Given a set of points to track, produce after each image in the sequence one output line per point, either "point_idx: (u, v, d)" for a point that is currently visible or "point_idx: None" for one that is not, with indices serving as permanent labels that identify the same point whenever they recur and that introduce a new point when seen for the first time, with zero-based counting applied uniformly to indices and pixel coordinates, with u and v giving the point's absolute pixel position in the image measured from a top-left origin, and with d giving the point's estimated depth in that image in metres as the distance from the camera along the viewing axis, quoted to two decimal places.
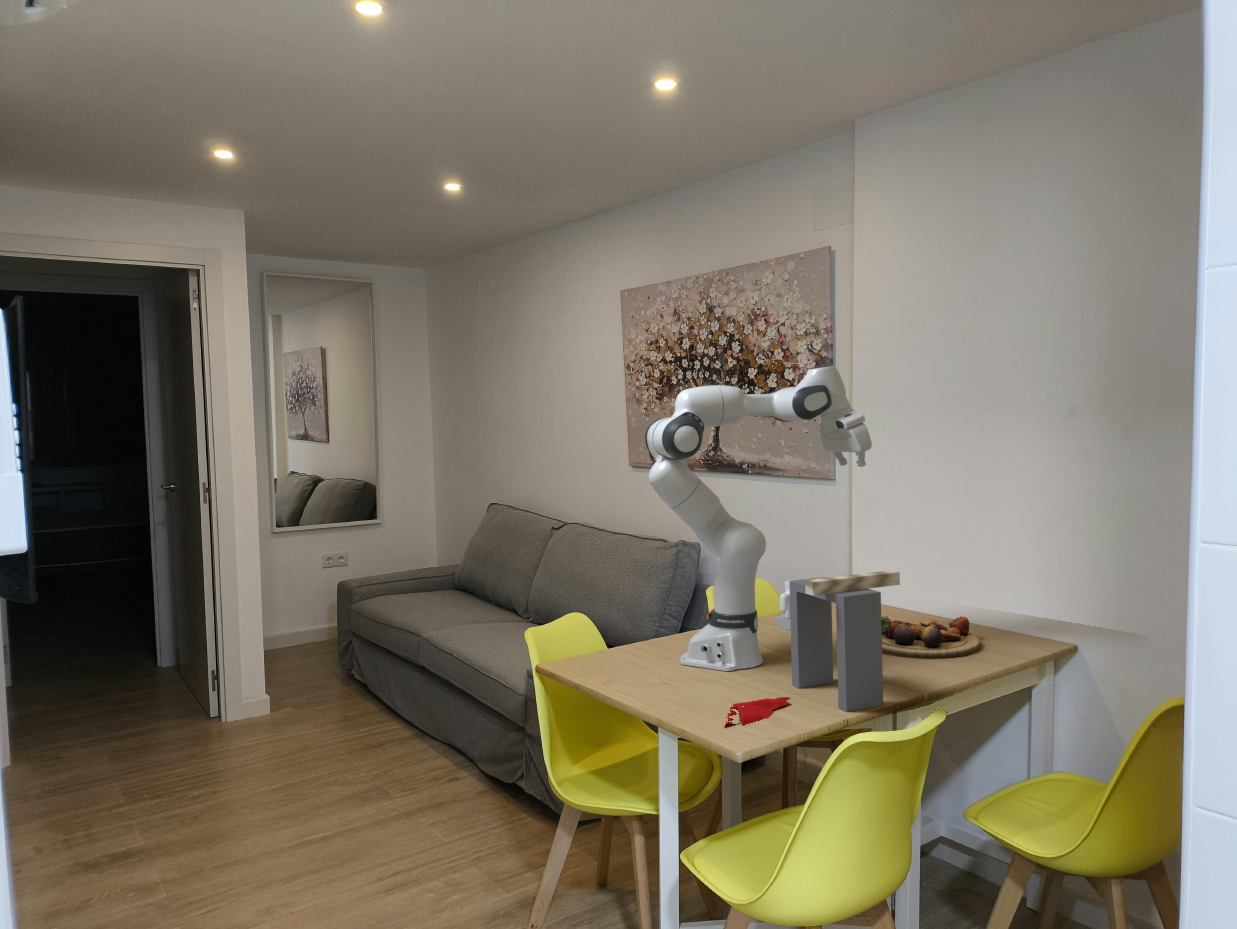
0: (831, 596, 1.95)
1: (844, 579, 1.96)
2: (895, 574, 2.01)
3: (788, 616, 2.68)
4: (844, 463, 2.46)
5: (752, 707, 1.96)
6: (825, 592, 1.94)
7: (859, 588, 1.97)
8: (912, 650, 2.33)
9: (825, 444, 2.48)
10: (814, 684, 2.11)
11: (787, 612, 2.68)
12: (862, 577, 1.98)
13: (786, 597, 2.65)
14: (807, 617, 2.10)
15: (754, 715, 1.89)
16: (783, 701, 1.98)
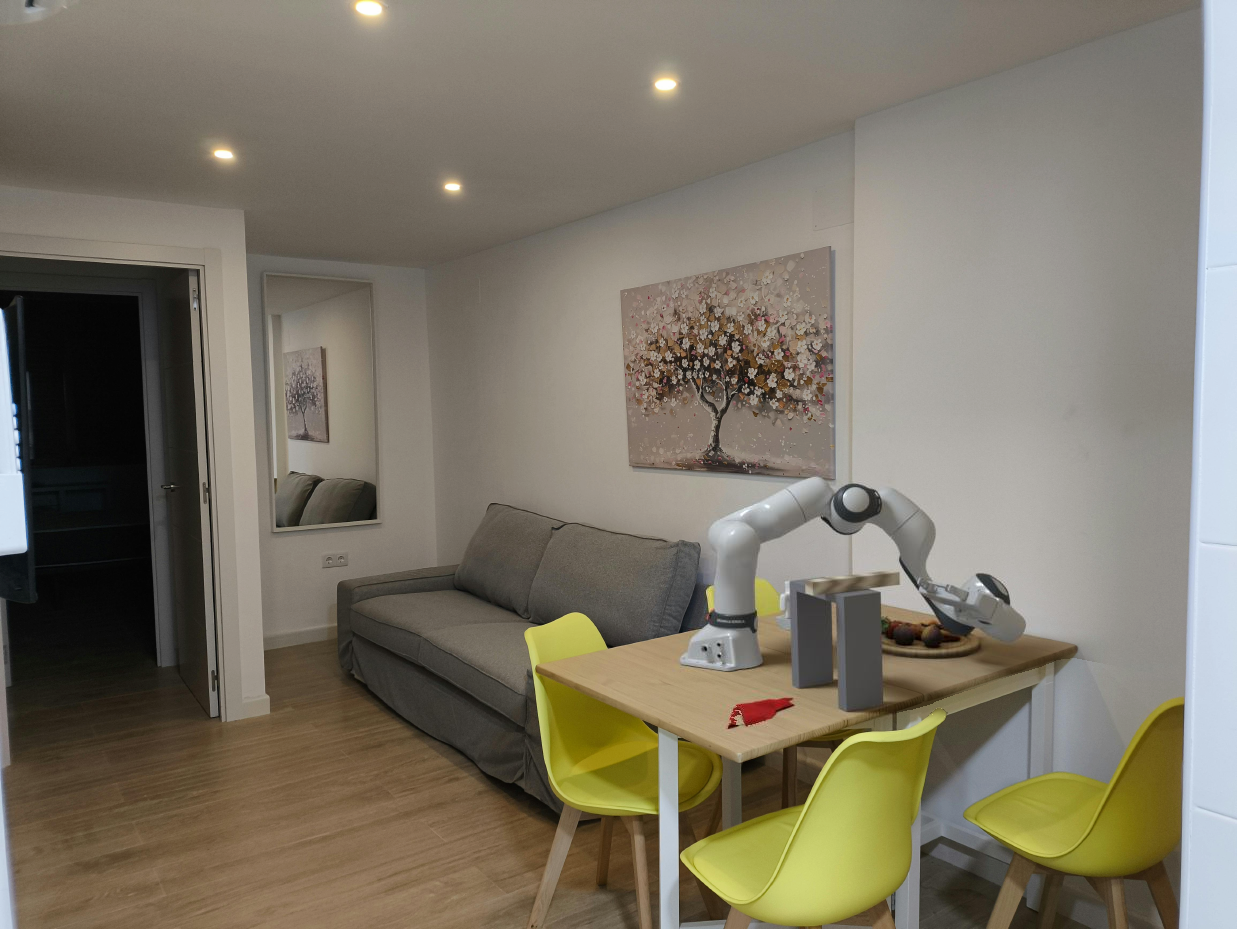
0: (831, 596, 1.95)
1: (844, 579, 1.96)
2: (895, 574, 2.01)
3: (788, 616, 2.68)
4: (923, 582, 2.11)
5: (755, 708, 1.96)
6: (825, 592, 1.94)
7: (859, 588, 1.97)
8: (912, 650, 2.33)
9: None
10: (814, 684, 2.11)
11: (787, 612, 2.68)
12: (862, 577, 1.98)
13: (786, 597, 2.65)
14: (807, 617, 2.10)
15: (757, 716, 1.88)
16: (786, 702, 1.97)
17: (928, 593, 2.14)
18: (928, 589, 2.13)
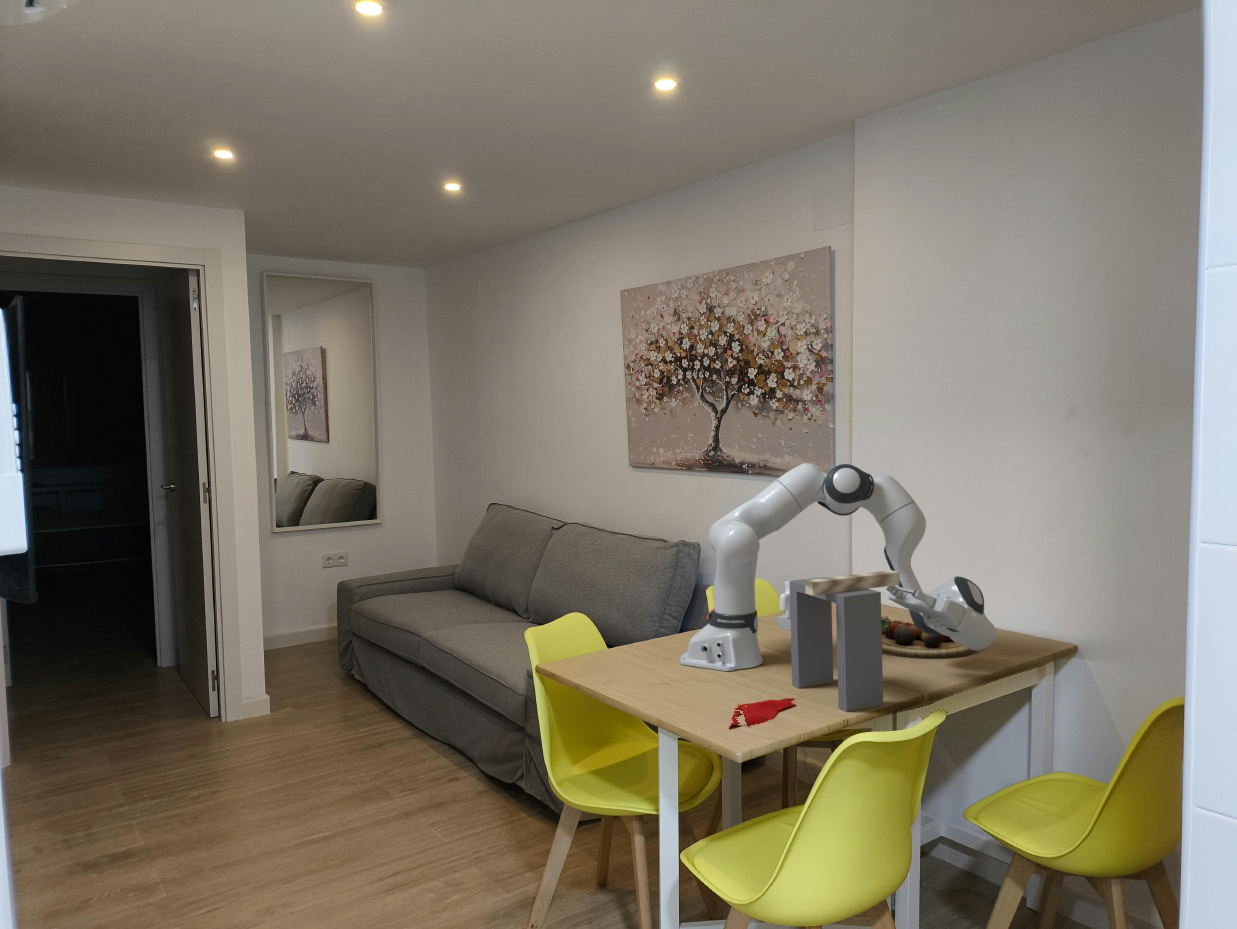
0: (831, 596, 1.95)
1: (844, 579, 1.96)
2: (895, 574, 2.01)
3: (788, 616, 2.68)
4: (892, 587, 2.08)
5: (757, 709, 1.95)
6: (825, 592, 1.94)
7: (859, 588, 1.97)
8: (912, 650, 2.33)
9: None
10: (814, 684, 2.11)
11: (787, 612, 2.68)
12: (862, 577, 1.98)
13: (786, 597, 2.65)
14: (807, 617, 2.10)
15: (759, 716, 1.88)
16: (788, 702, 1.97)
17: (897, 599, 2.10)
18: (897, 595, 2.10)
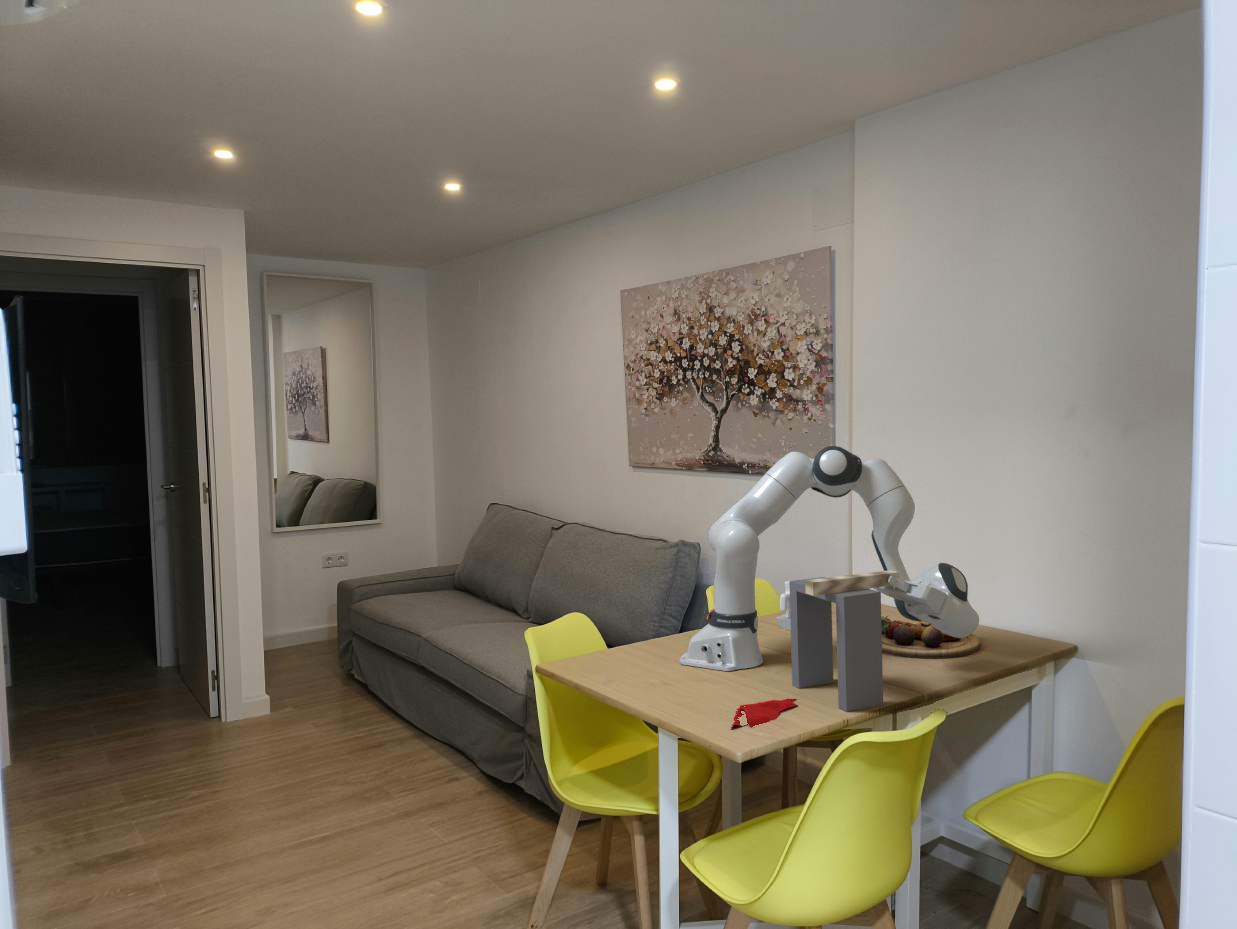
0: (831, 596, 1.95)
1: (844, 579, 1.96)
2: (895, 574, 2.01)
3: (788, 616, 2.68)
4: None
5: (758, 709, 1.95)
6: (825, 592, 1.94)
7: (859, 588, 1.97)
8: (912, 650, 2.33)
9: None
10: (814, 684, 2.11)
11: (787, 612, 2.68)
12: (862, 577, 1.98)
13: (786, 597, 2.65)
14: (807, 617, 2.10)
15: (760, 716, 1.87)
16: (790, 702, 1.97)
17: (878, 587, 2.08)
18: None
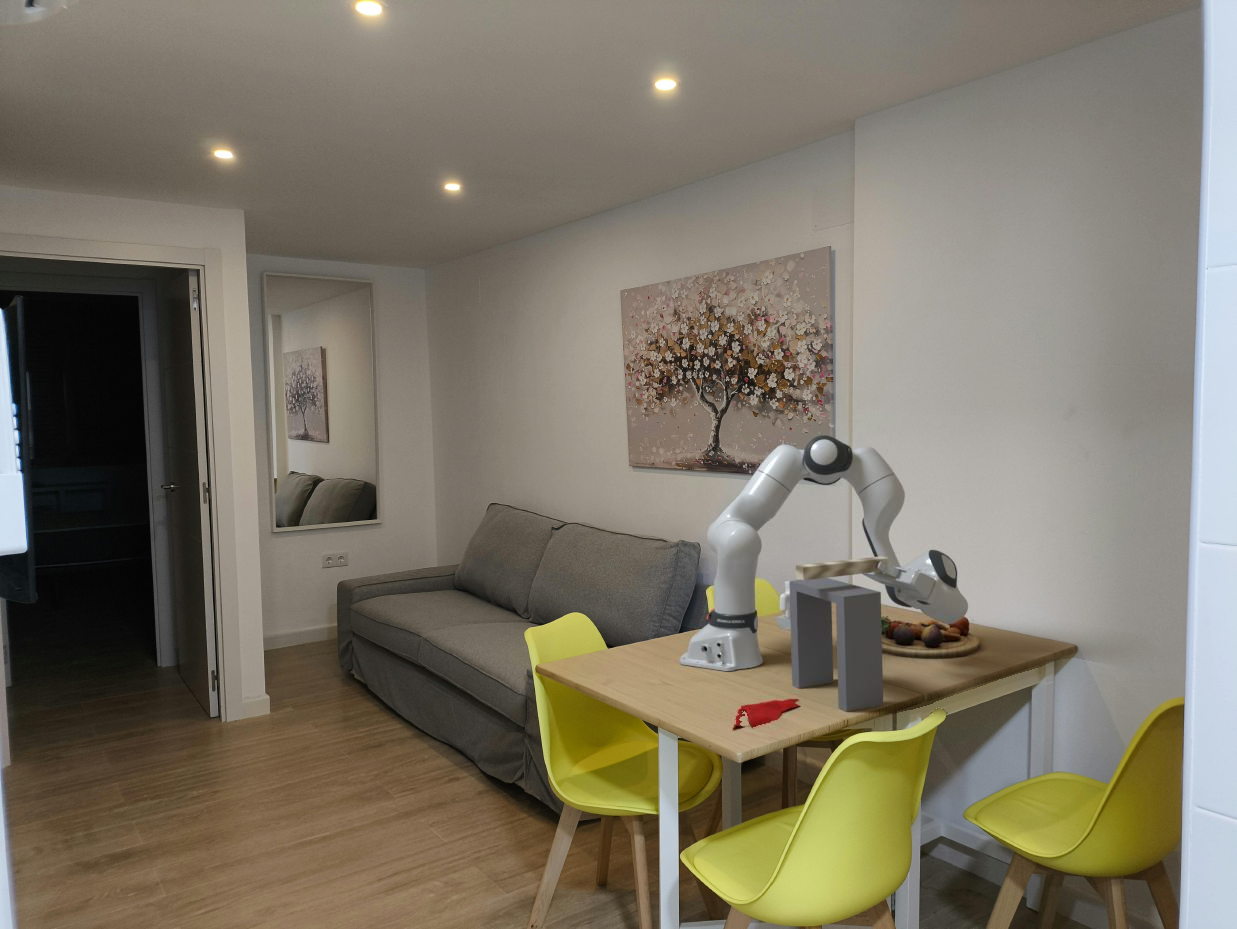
0: (831, 596, 1.95)
1: (834, 564, 1.99)
2: (885, 560, 2.04)
3: (788, 616, 2.68)
4: None
5: (760, 709, 1.95)
6: (815, 577, 1.97)
7: (849, 574, 2.00)
8: (912, 650, 2.33)
9: None
10: (814, 684, 2.11)
11: (787, 612, 2.68)
12: (852, 563, 2.01)
13: (786, 597, 2.65)
14: (807, 617, 2.10)
15: (762, 717, 1.87)
16: (792, 703, 1.96)
17: (868, 573, 2.11)
18: None
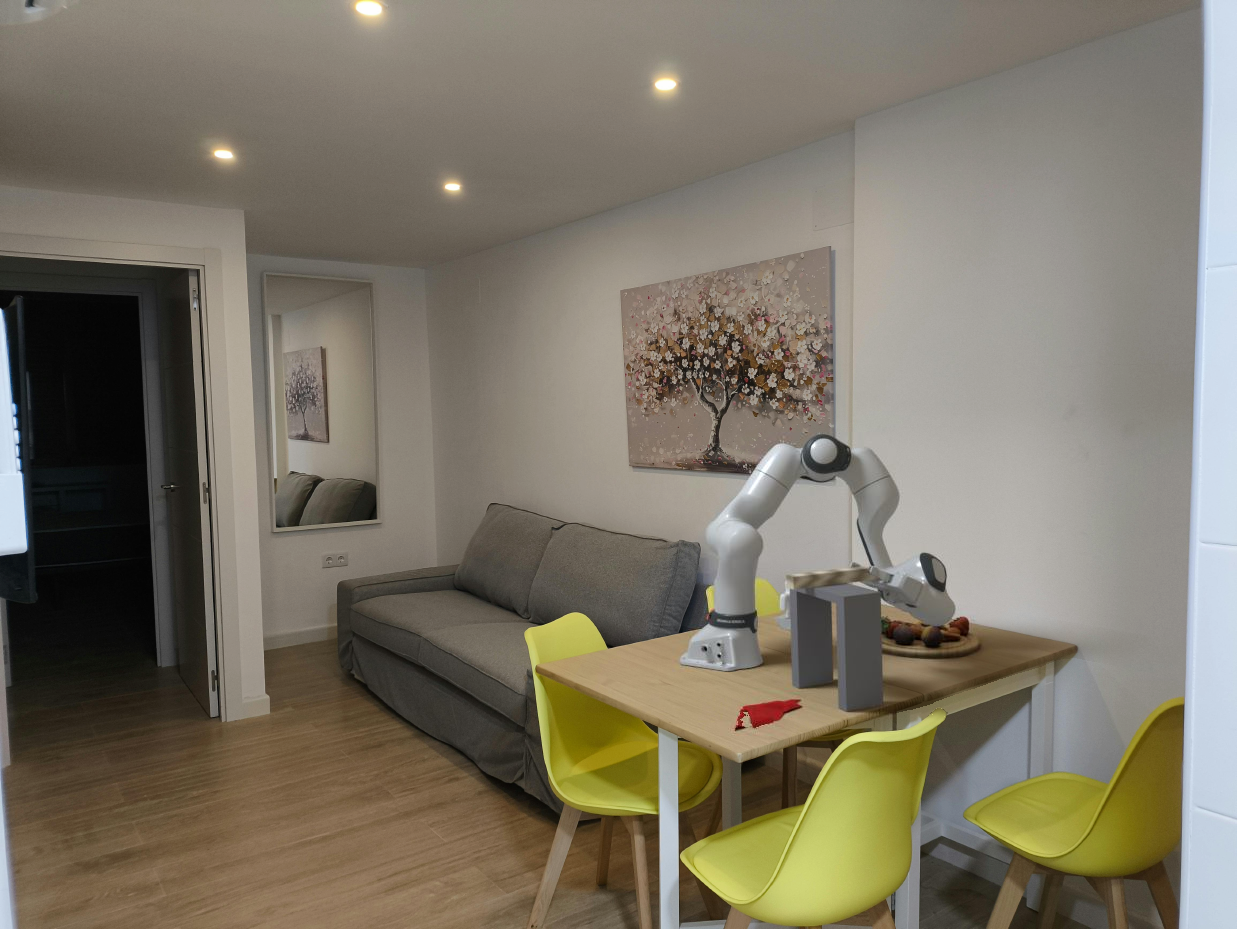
0: (831, 596, 1.95)
1: (824, 574, 2.03)
2: None
3: (788, 616, 2.68)
4: (855, 566, 2.12)
5: (762, 710, 1.94)
6: (805, 586, 2.01)
7: (838, 583, 2.05)
8: (912, 650, 2.33)
9: None
10: (814, 684, 2.11)
11: (787, 612, 2.68)
12: (841, 572, 2.05)
13: (786, 597, 2.65)
14: (807, 617, 2.10)
15: (764, 717, 1.87)
16: (794, 703, 1.96)
17: None
18: None
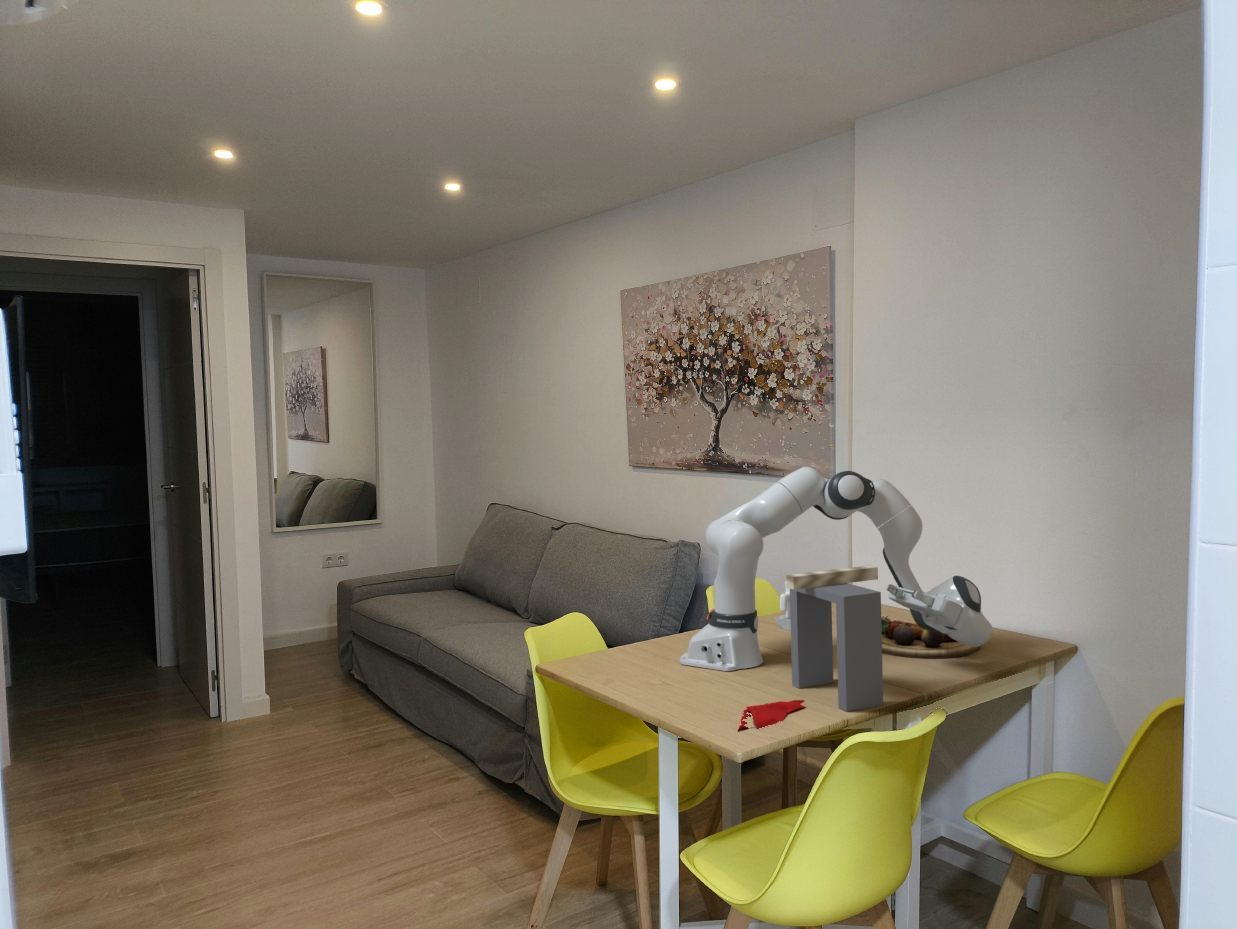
0: (831, 596, 1.95)
1: (824, 574, 2.03)
2: (873, 569, 2.08)
3: (788, 616, 2.68)
4: (892, 588, 2.17)
5: (765, 710, 1.94)
6: (805, 586, 2.01)
7: (838, 583, 2.05)
8: (912, 650, 2.33)
9: None
10: (814, 684, 2.11)
11: (787, 612, 2.68)
12: (841, 572, 2.05)
13: (786, 597, 2.65)
14: (807, 617, 2.10)
15: (768, 718, 1.86)
16: (797, 704, 1.95)
17: (897, 599, 2.20)
18: (897, 595, 2.19)
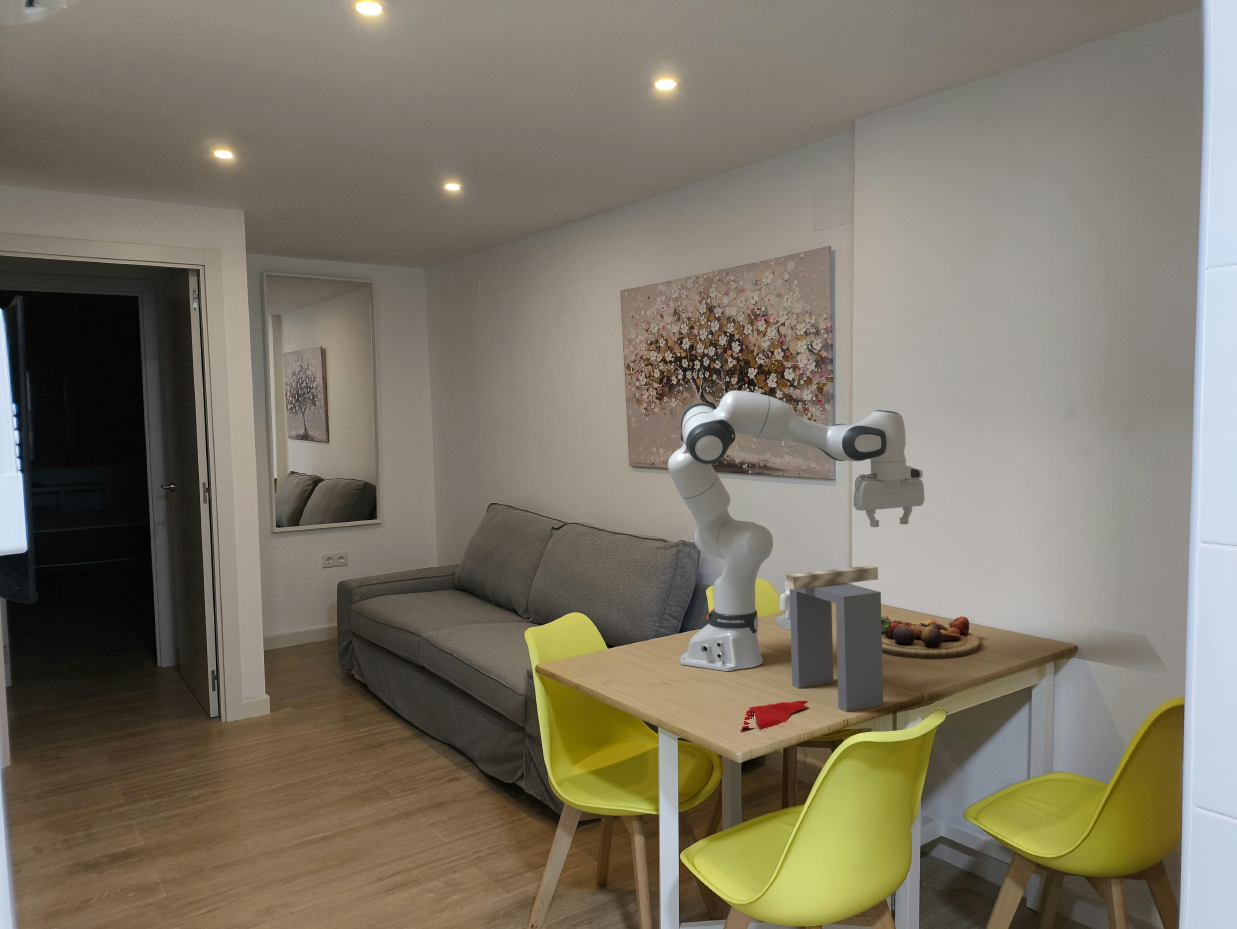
0: (831, 596, 1.95)
1: (824, 574, 2.03)
2: (873, 569, 2.08)
3: (788, 616, 2.68)
4: None
5: (769, 711, 1.93)
6: (805, 586, 2.01)
7: (838, 583, 2.05)
8: (912, 650, 2.33)
9: (868, 501, 2.19)
10: (814, 684, 2.11)
11: (787, 612, 2.68)
12: (841, 572, 2.05)
13: (786, 597, 2.65)
14: (807, 617, 2.10)
15: (771, 719, 1.86)
16: (800, 705, 1.95)
17: None
18: None
